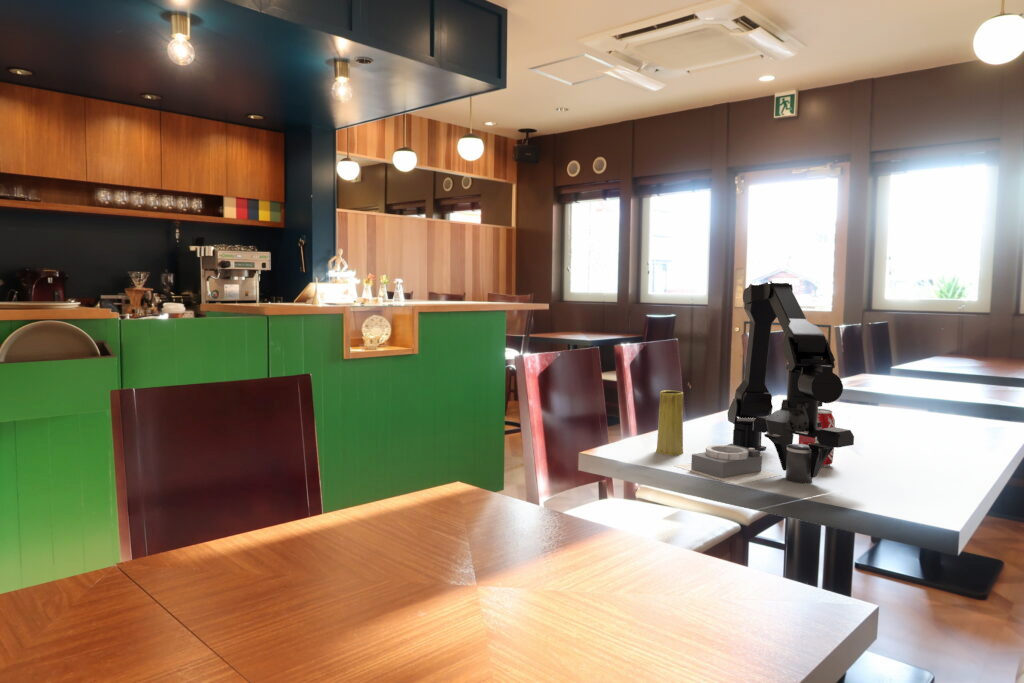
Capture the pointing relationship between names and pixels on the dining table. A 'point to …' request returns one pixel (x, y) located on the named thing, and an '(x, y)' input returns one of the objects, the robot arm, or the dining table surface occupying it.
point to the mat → (735, 479)
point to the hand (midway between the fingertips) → (798, 473)
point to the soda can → (826, 422)
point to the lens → (798, 463)
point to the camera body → (727, 461)
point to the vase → (670, 423)
